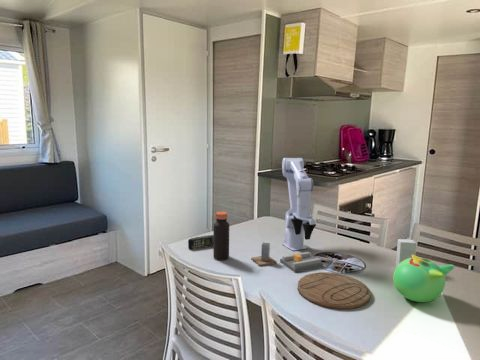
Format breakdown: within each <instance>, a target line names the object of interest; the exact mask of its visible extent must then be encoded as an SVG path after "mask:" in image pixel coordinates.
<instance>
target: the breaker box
mask: <svg viewBox="0 0 480 360" xmlns="http://www.w3.org/2000/svg"><path fill="white" fill-rule="evenodd" d="M294 254H295V253H294ZM294 254H288V255H283V256H282V258H280V261H279V263H281V264H282V265H283V266H284V267H286V268H288V269H289V270H290V271H291V272H293V273H299V272H305V271H310V270H314V269H320V268H323V267H324V262H322V259H321V258H319V257H316V258H315V257H313V256H311V252H309V251H305V252H300V253H297V254H299V255H301V256H302V261H300V262H296V261H294Z"/></svg>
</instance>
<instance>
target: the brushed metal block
mask: <svg viewBox="0 0 480 360" xmlns="http://www.w3.org/2000/svg"><path fill="white" fill-rule="evenodd" d="M270 244H271V243H270V242H262V244H261V261H269V256H271V255H270V252H271V251H270V249H271V248H270V247H271V245H270Z"/></svg>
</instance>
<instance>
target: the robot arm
mask: <svg viewBox="0 0 480 360" xmlns="http://www.w3.org/2000/svg"><path fill="white" fill-rule="evenodd" d="M304 165H305V163H304V159H303V157H283V158H282V161H281V168H282V176H283V177H284V178H286V181H287V188H288V196H289V205H290V208H289V210H287V211H286V212H285V219H284V221H285V227H286V228H285V229H284V238H283V241H284V242H283V243H282V245H283V246H285V247H286V248H288V249H289V250H291V251H294V252H296V251H300V250H307V249H308V247H307V246H305V245H304V240H306V241H307V240H310V239H311V236H312V235H313V234H312V233H313V231H314V230H315V228H316V227H317V223H316V219H314V218H313V216H312V215H311V205H312V202H311V199H312V193H313V191H314V181H313V178H312V177H309V175H308V173H307V172H306V171H305V170H304V167H305V166H304Z"/></svg>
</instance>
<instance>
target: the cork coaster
mask: <svg viewBox="0 0 480 360" xmlns="http://www.w3.org/2000/svg"><path fill="white" fill-rule="evenodd" d="M250 260H251V261H252V260H253V261H252V262H254V263H255V264H256V265H257V264H258V265H257V266H258V267H264V266H270V265H274V264H278V263H277V260H275V259H274V258H273V257H271V255H269V261H261V256H259V255H258V256H254V257H251V258H250Z"/></svg>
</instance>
